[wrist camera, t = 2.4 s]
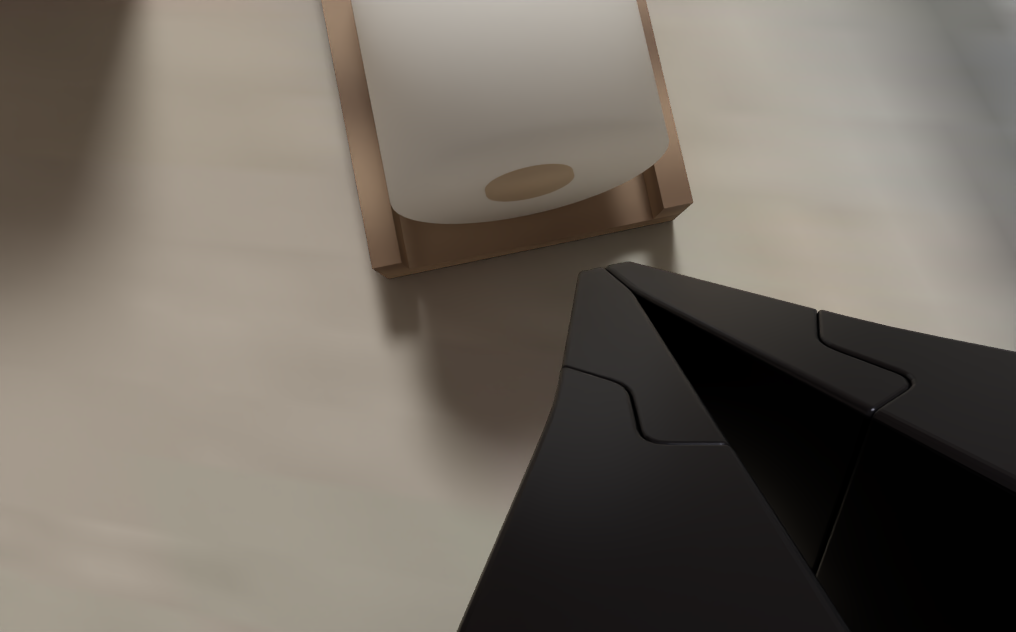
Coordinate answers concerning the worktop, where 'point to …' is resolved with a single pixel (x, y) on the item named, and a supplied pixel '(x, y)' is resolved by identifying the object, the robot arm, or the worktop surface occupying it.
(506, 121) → the kitchen roll
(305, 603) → the worktop surface
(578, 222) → the brown tray
